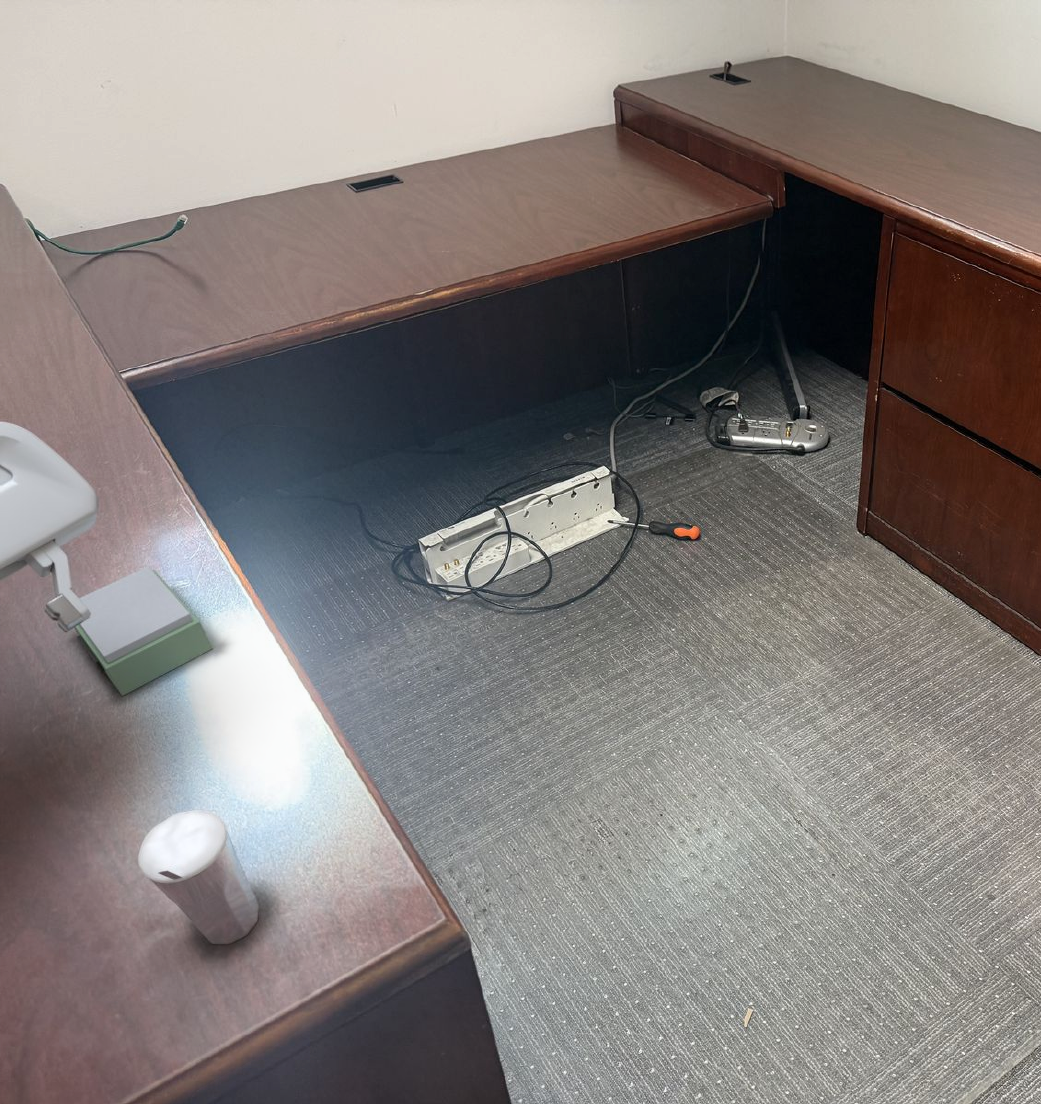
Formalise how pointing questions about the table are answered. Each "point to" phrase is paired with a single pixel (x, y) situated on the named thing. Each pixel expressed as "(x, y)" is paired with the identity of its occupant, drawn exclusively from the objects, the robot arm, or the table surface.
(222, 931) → the milkshake
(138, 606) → the scale
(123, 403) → the table surface
